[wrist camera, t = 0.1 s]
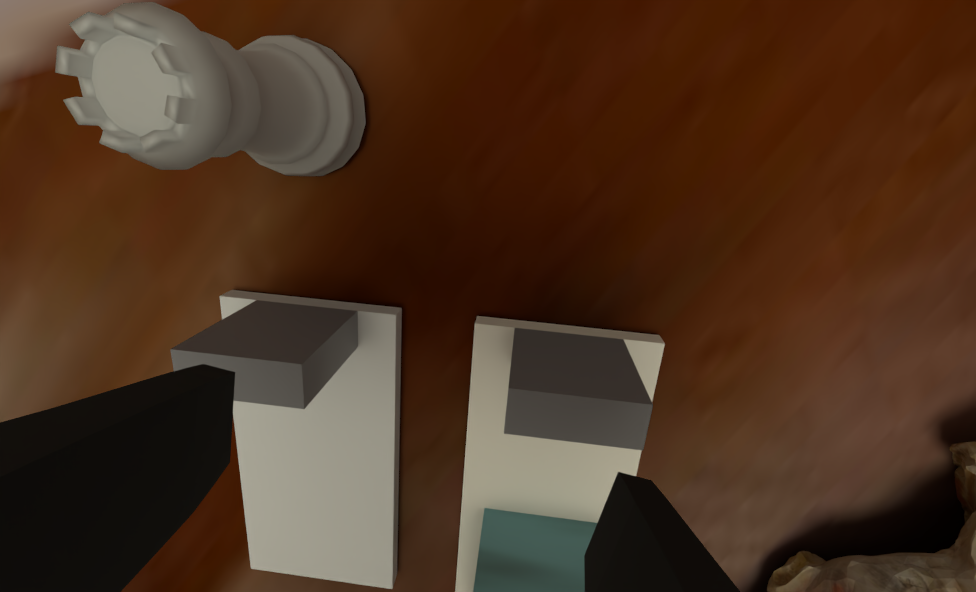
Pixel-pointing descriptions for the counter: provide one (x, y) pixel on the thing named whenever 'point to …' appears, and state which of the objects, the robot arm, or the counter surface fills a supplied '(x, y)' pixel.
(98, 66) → the rook chess piece
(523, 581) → the teal block
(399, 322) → the cream and grey bookend
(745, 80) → the counter surface
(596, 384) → the cream strip
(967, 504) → the seashell
